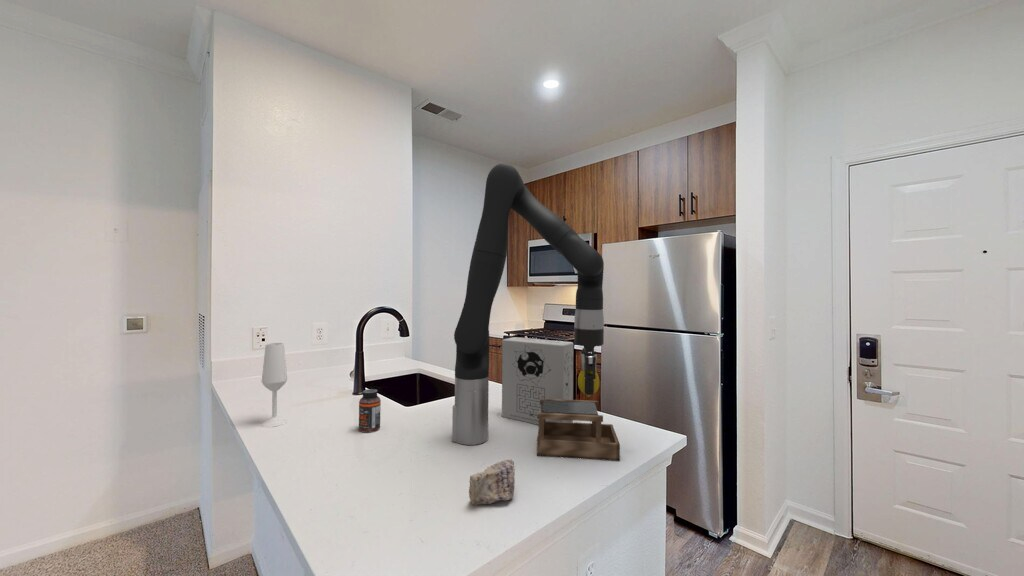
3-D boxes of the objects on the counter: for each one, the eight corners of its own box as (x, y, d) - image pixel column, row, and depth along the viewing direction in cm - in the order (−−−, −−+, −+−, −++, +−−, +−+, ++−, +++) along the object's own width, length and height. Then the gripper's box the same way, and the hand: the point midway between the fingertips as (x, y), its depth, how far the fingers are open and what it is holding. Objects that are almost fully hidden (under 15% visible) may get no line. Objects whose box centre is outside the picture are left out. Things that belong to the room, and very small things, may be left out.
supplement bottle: (354, 431, 114) (354, 392, 114) (368, 424, 119) (369, 387, 119) (370, 434, 111) (370, 394, 111) (384, 427, 117) (385, 389, 117)
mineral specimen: (493, 518, 72) (493, 484, 72) (463, 506, 75) (463, 473, 75) (528, 488, 82) (529, 458, 82) (500, 479, 86) (500, 450, 86)
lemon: (599, 394, 105) (599, 364, 105) (599, 400, 100) (599, 369, 100) (577, 393, 106) (578, 363, 106) (577, 399, 101) (577, 367, 101)
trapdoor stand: (536, 456, 98) (537, 414, 98) (539, 435, 112) (540, 398, 112) (619, 461, 95) (620, 418, 95) (612, 438, 109) (612, 401, 109)
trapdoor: (541, 419, 99) (541, 412, 99) (543, 406, 110) (543, 400, 110) (598, 421, 98) (598, 414, 98) (594, 408, 108) (594, 402, 108)
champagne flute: (288, 424, 119) (288, 344, 119) (261, 428, 115) (262, 346, 115) (286, 417, 125) (286, 341, 125) (260, 421, 121) (261, 343, 121)
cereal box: (573, 423, 122) (573, 342, 122) (562, 430, 115) (563, 345, 115) (513, 410, 133) (514, 336, 133) (501, 417, 127) (501, 339, 127)
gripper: (606, 330, 95) (606, 399, 95) (600, 324, 110) (600, 385, 110) (575, 329, 96) (574, 398, 96) (573, 323, 111) (572, 384, 111)
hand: (588, 391), depth 103 cm, fingers closed on lemon, 5 cm apart
